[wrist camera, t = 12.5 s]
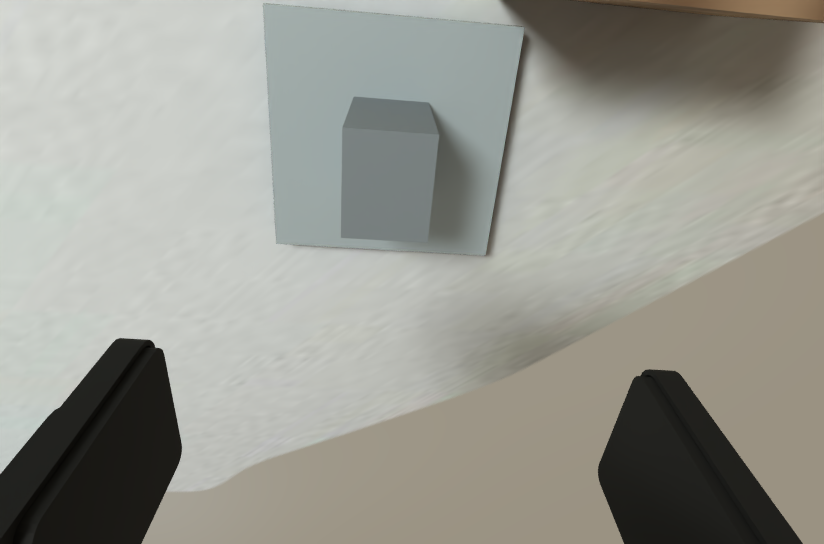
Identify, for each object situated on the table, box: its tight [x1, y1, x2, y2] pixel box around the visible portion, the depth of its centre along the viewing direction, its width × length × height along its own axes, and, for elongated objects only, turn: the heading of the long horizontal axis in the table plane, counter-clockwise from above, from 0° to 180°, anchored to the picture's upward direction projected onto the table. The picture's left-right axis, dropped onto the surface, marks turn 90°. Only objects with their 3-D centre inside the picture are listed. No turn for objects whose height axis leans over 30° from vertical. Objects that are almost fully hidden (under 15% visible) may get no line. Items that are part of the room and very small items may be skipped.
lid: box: [263, 3, 525, 256], centre depth 26 cm, size 13×13×9 cm
